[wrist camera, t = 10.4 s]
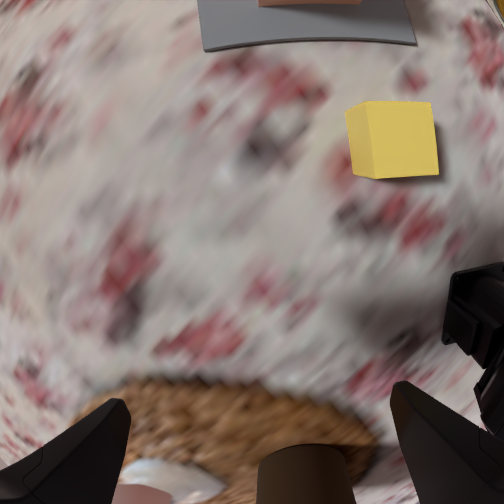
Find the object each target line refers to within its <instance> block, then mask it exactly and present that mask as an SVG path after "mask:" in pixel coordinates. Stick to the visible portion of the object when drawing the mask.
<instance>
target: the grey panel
mask: <svg viewBox="0 0 504 504" xmlns="http://www.w3.org/2000/svg"><path fill="white" fill-rule="evenodd" d="M197 3H198V11H199V19H200V27H201V35H202V43H203V50H204V52H208V51H214V50H219V49H225V48H231V47H238V46H245V45H253V44H262V43H272V42H283V41H299V40H366V41H382V42H393V43H403V44H411V45H413V44H415V43H416V40H415V37H414V33H413V30H412V26H411V23H410V20H409V16H408V13H407V10H406V7H405V4H404V1H403V0H362V1H361V2H360V4H359V5H353V4H287V5H273V6H262V7H258V3H257V0H197Z"/></svg>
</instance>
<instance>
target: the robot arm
mask: <svg viewBox="0 0 504 504" xmlns="http://www.w3.org/2000/svg"><path fill="white" fill-rule="evenodd" d="M457 278H458V279H457ZM456 279H457V280H456ZM447 338H448V339H447ZM446 339H447V340H446ZM441 341H442V343H443V344H444V345H449V344H452V343H457V345H458V346H459V347H460V348H461V349H462V350H463V351H464V353H465V354H466V355H467V356H469V355H471V356H472V357H473V358H474V359H475V360H476V362H477V363H478V364H479V365H480V366H481V367H482V369H486V370H485V372H484V373H483V375H482V377H481V379H480V380H479V382H477V383H476V385H475V387H474V388H473V389H474V392H475V396H476V399H477V402H478V405H479V408H480V412H481V415H480V416H481V420H482V422H483V423H484V425H485V428H486V429H487V431H485V430H484V429H482V428H479V426H477V425H475V424H474V423H472V422H471V421H469V420H467V419H466V418H464V417H463V416H461V415H460V414H458V413H456V412H455V411H453V410H452V409H450V408H449V407H447V406H445V405H444V404H442V403H441V402H439V401H438V400H436V399H434V398H433V397H431V396H430V395H428V394H427V393H425V392H424V391H422V390H421V389H419V388H417V387H416V386H414V385H413V384H411V383H410V382H408V381H406V380H404V381H399V382H396V383H394V385H393V389H392V393H391V398H390V407H391V411H392V415H393V419H394V423H395V428H396V432H397V436H398V440H399V444H400V447H401V450H402V452H403V455H404V458H405V461H406V463H407V466H408V469H409V472H410V475H411V478H412V480H413V483H414V486H415V489H416V492H417V495H418V498H419V501H420V504H504V262H501V263H496V264H492V265H488V266H483V267H479V268H474V269H469V270H465V271H460V272H456V273H454V274H453V275H452V276H451V279H450V288H449V296H448V302H447V308H446V314H445V320H444V326H443V334H442V339H441ZM130 424H131V415H130V413H129V411H128V408H127V406H126V404H125V402H124V401H123V400H122V399H118V398H111V399H109V400H108V401H106V402H105V403H104V404H102V405H101V406H100V407H98V408H97V409H95V410H94V411H93V412H91V413H90V414H88V415H87V416H85V417H84V418H83V419H81V420H80V421H78V422H77V423H76V424H74V425H73V426H71V427H70V428H68V429H67V430H65V431H64V432H63V433H61V434H60V435H58V436H57V437H55V438H54V439H52V440H51V441H49V442H48V443H47V444H45V445H44V446H43V447H41V448H39V449H38V450H36V451H35V452H33V453H31V454H30V455H28V456H27V457H25V458H23V459H21V460H20V461H18V462H16V463H14V464H12V465H10V466H8V467H6V468H4V469H2V470H0V504H111V503H112V499H113V496H114V492H115V488H116V485H117V481H118V478H119V474H120V471H121V467H122V464H123V460H124V457H125V452H126V447H127V441H128V435H129V430H130Z"/></svg>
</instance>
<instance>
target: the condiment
mask: <svg viewBox="0 0 504 504" xmlns="http://www.w3.org/2000/svg"><path fill="white" fill-rule="evenodd" d="M487 1H488V3H489V5H490V6H491V8H492V9H493V11H494V13H495V14H496V16H497V18H498V19H499V21H500V22H501V24H502V25H503V27H504V0H487Z"/></svg>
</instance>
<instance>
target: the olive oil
mask: <svg viewBox="0 0 504 504" xmlns="http://www.w3.org/2000/svg"><path fill="white" fill-rule="evenodd" d="M256 504H356V501H355V497H354V493H353V489H352V485H351V482H350V478H349V474H348V470H347V466H346V462H345V459H344V456H343V455H342V453H341V452H340V451H338V450H337V449H335V448H332V447H329V446H324V445H299V446H293V447H289V448H285V449H282V450H279V451H276V452H274V453H272V454H270V455H269V456H267V457H266V458H265V459H264V460H263V461H262V462H261V463H260V465H259V468H258V481H257V499H256Z"/></svg>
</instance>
